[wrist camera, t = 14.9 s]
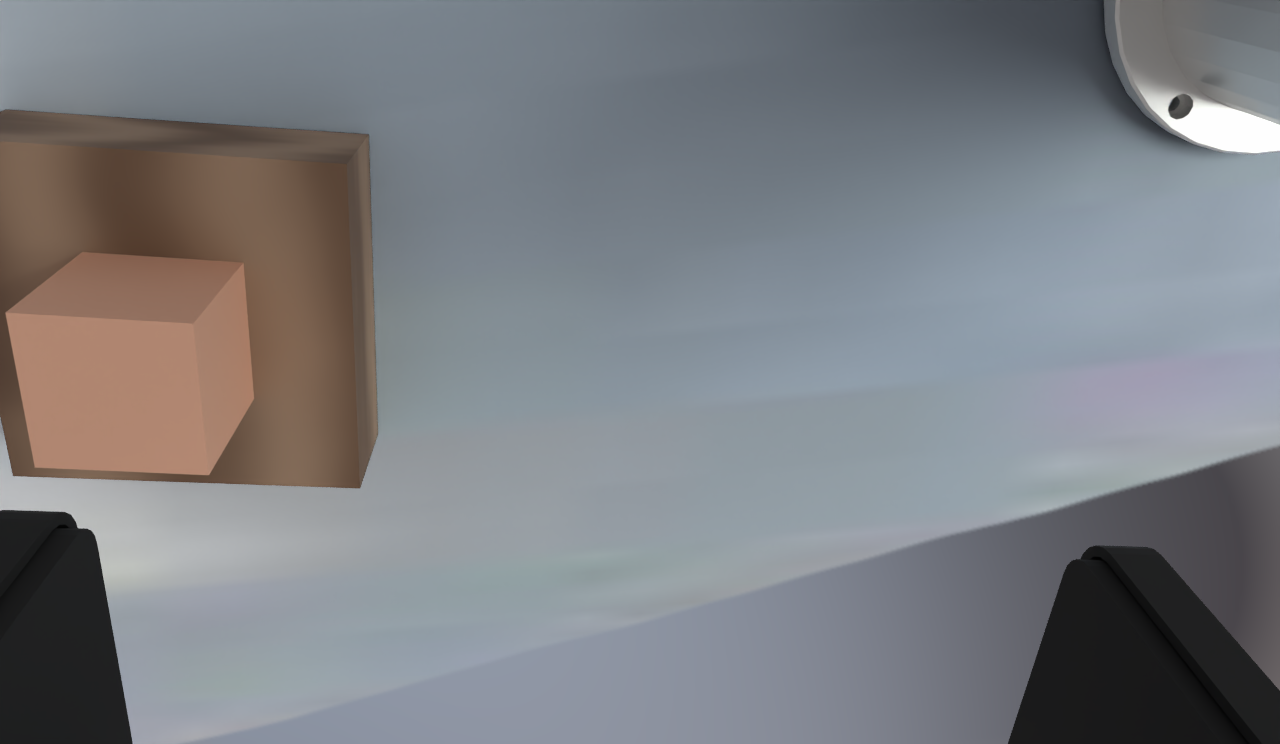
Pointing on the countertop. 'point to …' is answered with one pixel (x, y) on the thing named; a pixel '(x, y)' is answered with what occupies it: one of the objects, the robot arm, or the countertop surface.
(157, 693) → the countertop surface
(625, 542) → the countertop surface
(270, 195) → the walnut base
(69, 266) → the terracotta cube
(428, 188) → the countertop surface
